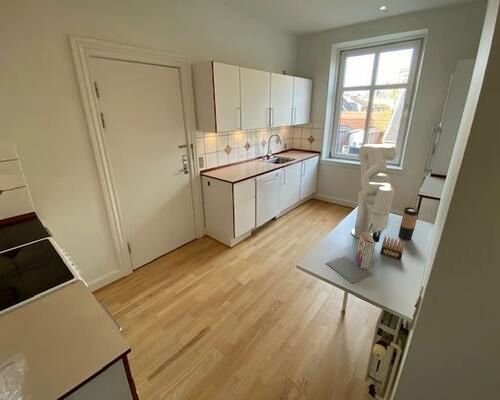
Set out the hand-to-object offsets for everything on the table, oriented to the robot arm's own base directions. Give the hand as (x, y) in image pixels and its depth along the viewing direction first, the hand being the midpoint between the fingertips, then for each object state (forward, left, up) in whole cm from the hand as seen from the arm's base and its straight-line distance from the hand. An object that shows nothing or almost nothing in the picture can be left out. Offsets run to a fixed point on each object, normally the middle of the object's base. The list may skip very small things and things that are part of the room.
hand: (375, 241), depth 131 cm
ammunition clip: (-12, +3, -12) cm, 18 cm away
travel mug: (-39, -6, -12) cm, 41 cm away
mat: (+18, 0, -12) cm, 22 cm away
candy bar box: (+8, 0, -12) cm, 14 cm away
